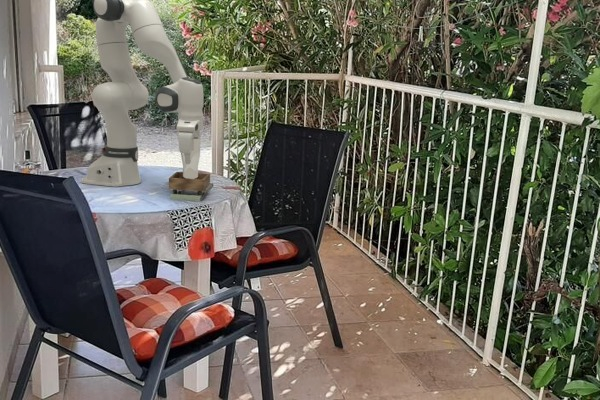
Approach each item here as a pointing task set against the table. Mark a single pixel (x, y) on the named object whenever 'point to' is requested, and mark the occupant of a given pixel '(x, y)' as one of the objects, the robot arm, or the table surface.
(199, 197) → the track
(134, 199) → the table surface
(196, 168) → the beer glass
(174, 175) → the tray
